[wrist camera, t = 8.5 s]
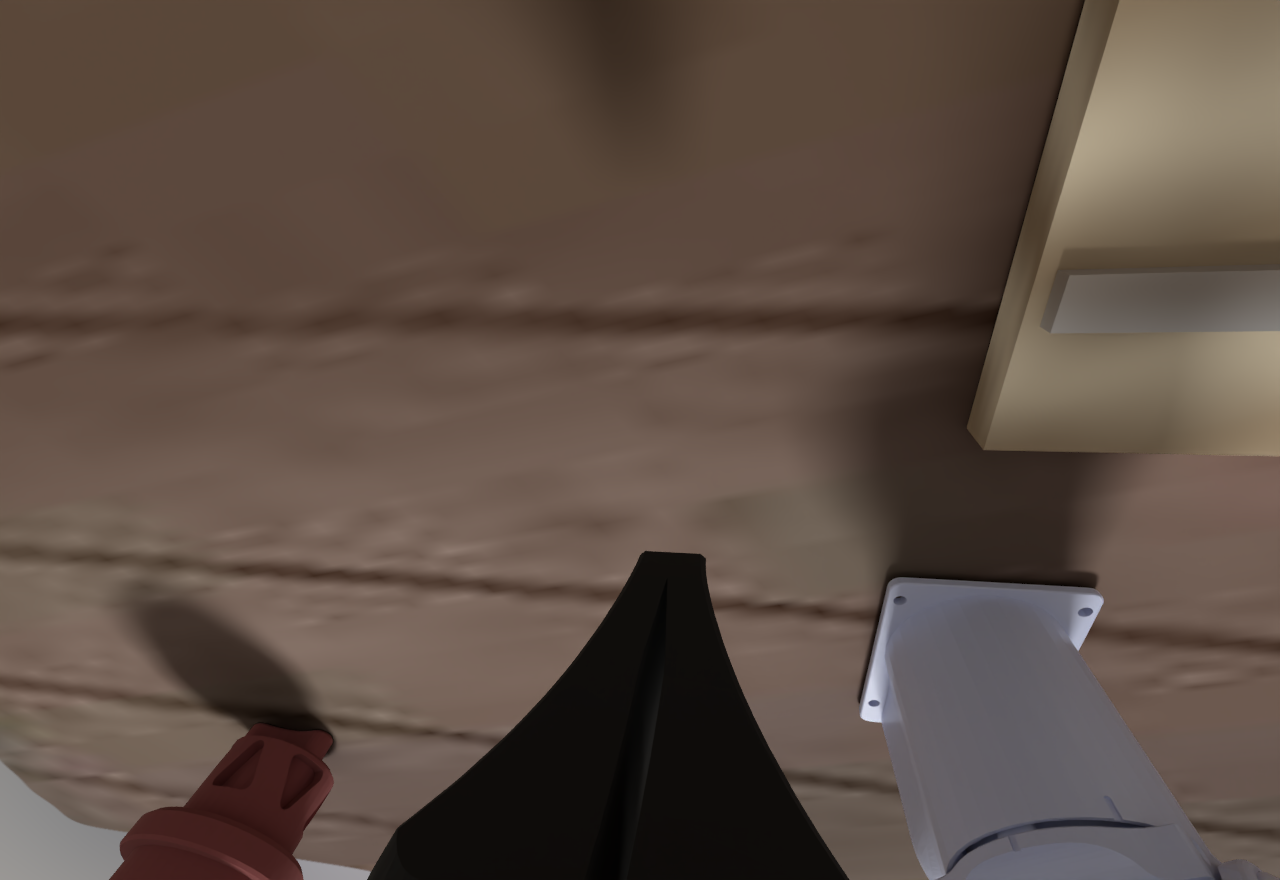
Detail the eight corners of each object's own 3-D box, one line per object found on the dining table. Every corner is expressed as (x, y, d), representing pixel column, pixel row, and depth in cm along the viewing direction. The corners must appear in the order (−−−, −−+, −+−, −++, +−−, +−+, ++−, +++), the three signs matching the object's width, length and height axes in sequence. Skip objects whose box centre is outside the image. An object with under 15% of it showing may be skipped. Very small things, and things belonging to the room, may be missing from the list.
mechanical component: (204, 715, 38) (289, 683, 34) (310, 790, 42) (397, 769, 38) (2, 942, 27) (92, 932, 24) (167, 1016, 31) (268, 1018, 27)
